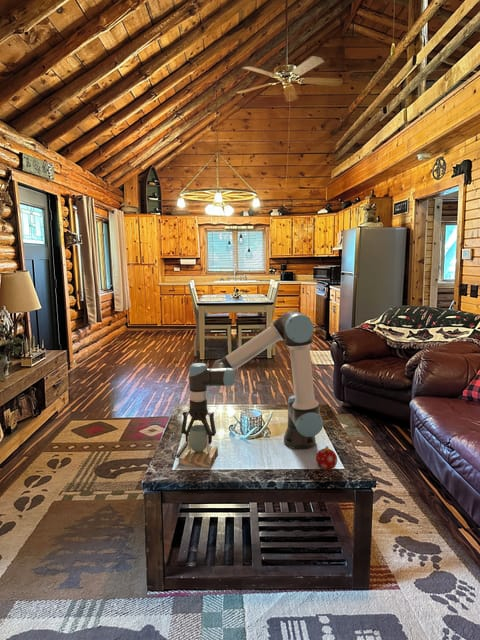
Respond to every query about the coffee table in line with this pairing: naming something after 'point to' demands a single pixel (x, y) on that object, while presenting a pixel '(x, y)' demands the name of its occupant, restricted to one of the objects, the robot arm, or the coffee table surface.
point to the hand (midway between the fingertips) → (198, 449)
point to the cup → (198, 438)
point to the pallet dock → (196, 456)
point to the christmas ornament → (326, 459)
